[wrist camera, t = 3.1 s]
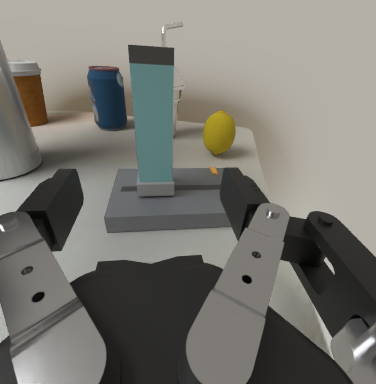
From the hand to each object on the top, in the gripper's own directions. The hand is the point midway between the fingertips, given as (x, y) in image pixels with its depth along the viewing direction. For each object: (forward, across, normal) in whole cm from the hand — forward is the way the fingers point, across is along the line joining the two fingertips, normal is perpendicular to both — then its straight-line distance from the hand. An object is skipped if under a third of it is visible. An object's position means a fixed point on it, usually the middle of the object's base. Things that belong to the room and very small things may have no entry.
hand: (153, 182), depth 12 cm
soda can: (+41, +10, +10) cm, 43 cm away
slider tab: (+11, 0, +7) cm, 13 cm away
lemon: (+25, -11, +10) cm, 29 cm away
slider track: (+11, -2, +10) cm, 15 cm away
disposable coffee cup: (+43, +28, +10) cm, 52 cm away
